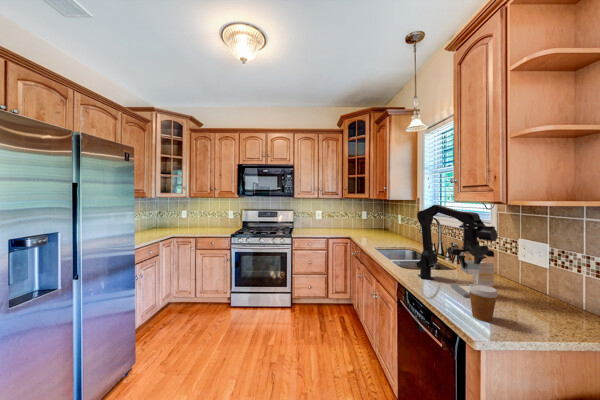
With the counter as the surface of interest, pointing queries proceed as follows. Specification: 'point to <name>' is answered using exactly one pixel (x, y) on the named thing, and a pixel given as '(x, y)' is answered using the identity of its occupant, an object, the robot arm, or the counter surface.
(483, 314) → the disposable coffee cup
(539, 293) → the counter surface
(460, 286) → the stand
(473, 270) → the block
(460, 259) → the robot arm
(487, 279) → the supplement box
